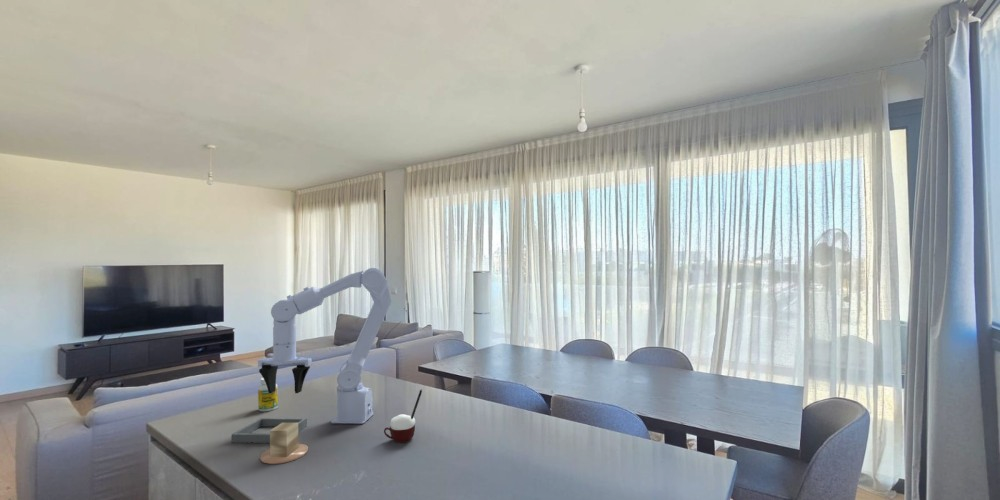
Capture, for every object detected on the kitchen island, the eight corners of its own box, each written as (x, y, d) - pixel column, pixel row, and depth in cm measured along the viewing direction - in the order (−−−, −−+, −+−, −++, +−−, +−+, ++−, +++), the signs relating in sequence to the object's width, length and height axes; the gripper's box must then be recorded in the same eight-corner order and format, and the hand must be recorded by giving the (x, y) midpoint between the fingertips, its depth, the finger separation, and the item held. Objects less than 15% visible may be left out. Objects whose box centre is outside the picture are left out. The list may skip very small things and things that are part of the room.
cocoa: (382, 445, 107) (378, 397, 107) (393, 434, 113) (389, 388, 113) (418, 446, 105) (414, 397, 105) (427, 434, 111) (424, 388, 111)
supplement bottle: (276, 404, 139) (276, 374, 139) (278, 409, 134) (278, 378, 135) (257, 408, 136) (257, 377, 136) (259, 413, 131) (258, 381, 132)
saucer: (315, 445, 107) (315, 443, 107) (293, 464, 97) (293, 462, 97) (277, 445, 108) (277, 442, 108) (250, 463, 98) (250, 461, 98)
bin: (307, 425, 120) (306, 418, 120) (282, 443, 109) (282, 434, 109) (260, 425, 121) (260, 417, 121) (231, 442, 110) (231, 434, 110)
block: (298, 447, 105) (298, 422, 105) (286, 457, 100) (286, 430, 100) (282, 447, 105) (282, 422, 105) (270, 456, 100) (270, 430, 100)
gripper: (250, 346, 117) (250, 396, 117) (302, 345, 116) (302, 396, 116) (266, 341, 124) (267, 388, 124) (315, 340, 123) (315, 389, 123)
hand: (285, 392), depth 120 cm, fingers open, 7 cm apart
